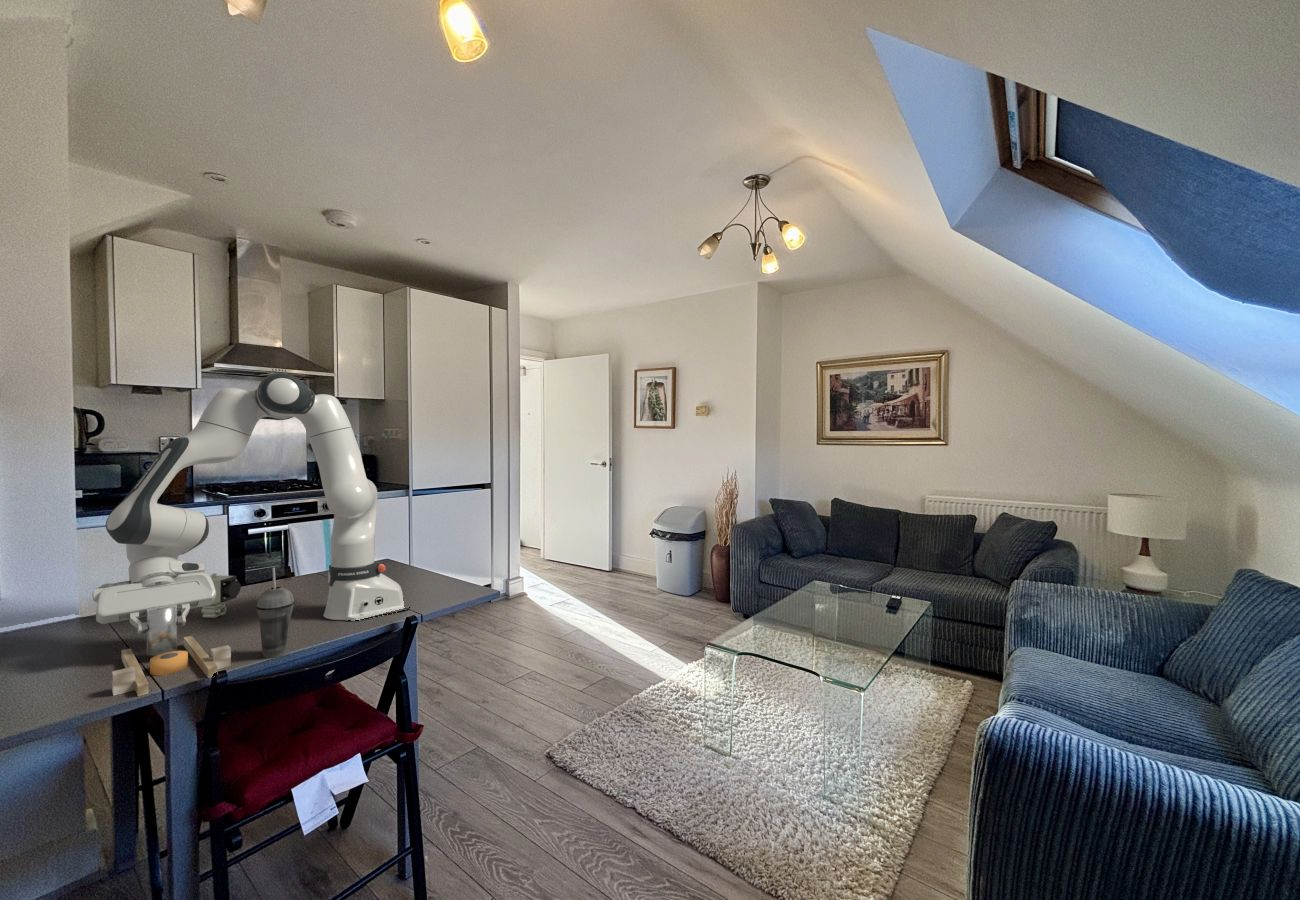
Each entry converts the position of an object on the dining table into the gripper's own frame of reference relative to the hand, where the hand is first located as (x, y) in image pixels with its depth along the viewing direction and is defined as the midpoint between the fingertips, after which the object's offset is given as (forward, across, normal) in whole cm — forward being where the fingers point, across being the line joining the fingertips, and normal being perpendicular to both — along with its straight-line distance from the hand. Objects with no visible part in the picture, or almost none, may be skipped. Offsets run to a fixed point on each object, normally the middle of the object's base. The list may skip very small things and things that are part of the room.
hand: (162, 628), depth 118 cm
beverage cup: (+16, +17, -6) cm, 25 cm away
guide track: (+10, 0, 0) cm, 10 cm away
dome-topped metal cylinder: (+3, 0, +4) cm, 5 cm away
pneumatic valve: (-14, +14, +24) cm, 32 cm away
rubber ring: (+11, 0, -1) cm, 11 cm away
